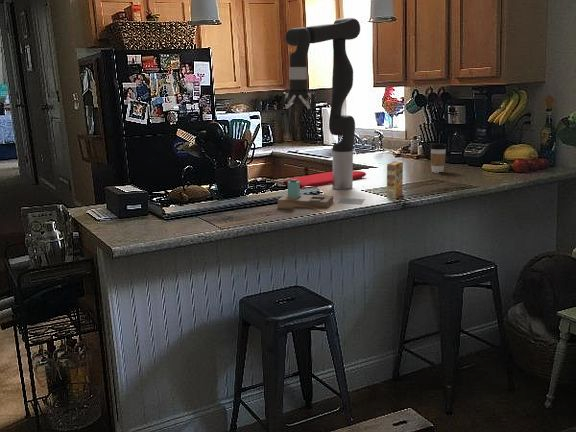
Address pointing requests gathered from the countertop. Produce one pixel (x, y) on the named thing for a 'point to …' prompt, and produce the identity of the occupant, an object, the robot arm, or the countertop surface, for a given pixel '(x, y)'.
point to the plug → (294, 189)
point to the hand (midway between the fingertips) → (298, 117)
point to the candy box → (394, 179)
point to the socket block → (305, 201)
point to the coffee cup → (438, 157)
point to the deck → (350, 201)
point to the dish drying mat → (322, 178)
